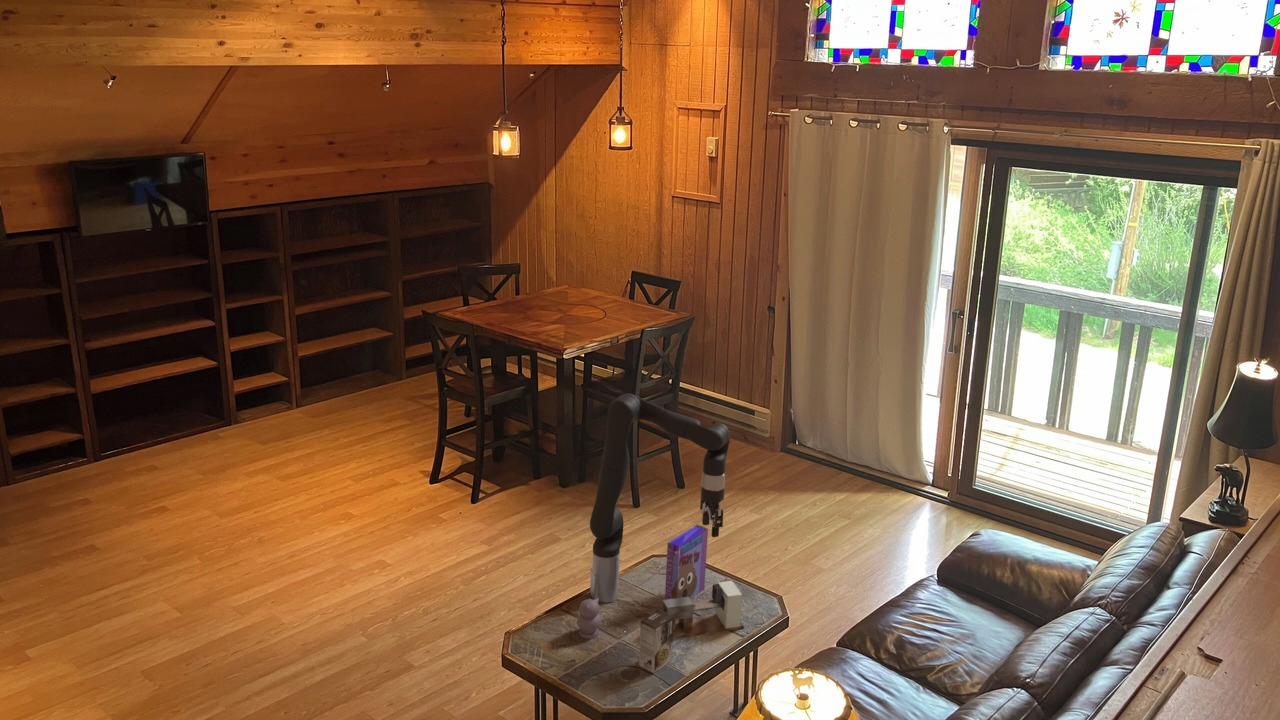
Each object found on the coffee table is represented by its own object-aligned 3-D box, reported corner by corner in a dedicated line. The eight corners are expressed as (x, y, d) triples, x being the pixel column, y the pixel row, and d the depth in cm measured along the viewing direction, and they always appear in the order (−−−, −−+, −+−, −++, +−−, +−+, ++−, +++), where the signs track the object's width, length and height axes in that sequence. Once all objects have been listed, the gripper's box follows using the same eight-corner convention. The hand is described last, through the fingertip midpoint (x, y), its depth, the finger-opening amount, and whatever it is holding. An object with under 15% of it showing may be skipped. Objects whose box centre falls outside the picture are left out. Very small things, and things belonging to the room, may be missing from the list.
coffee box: (656, 652, 316) (658, 608, 311) (672, 661, 312) (674, 615, 307) (638, 665, 309) (639, 619, 304) (654, 673, 305) (656, 627, 301)
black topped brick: (686, 614, 326) (687, 593, 324) (683, 609, 329) (684, 588, 327) (731, 608, 331) (733, 587, 328) (728, 603, 334) (729, 582, 331)
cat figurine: (586, 623, 331) (587, 591, 327) (606, 630, 327) (607, 598, 323) (571, 635, 324) (572, 603, 320) (591, 643, 320) (592, 610, 316)
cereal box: (675, 609, 341) (679, 546, 334) (664, 604, 344) (667, 542, 336) (704, 589, 354) (708, 528, 347) (693, 584, 357) (696, 524, 350)
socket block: (725, 628, 329) (727, 596, 325) (715, 614, 337) (718, 582, 334) (739, 626, 330) (742, 594, 327) (729, 612, 339) (731, 580, 335)
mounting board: (666, 639, 323) (668, 611, 320) (658, 624, 332) (659, 596, 328) (743, 628, 331) (745, 600, 328) (733, 614, 339) (735, 587, 336)
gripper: (694, 476, 324) (691, 522, 329) (710, 495, 311) (707, 542, 316) (716, 474, 326) (713, 519, 331) (732, 493, 313) (729, 539, 318)
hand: (710, 530), depth 324 cm, fingers open, 8 cm apart
